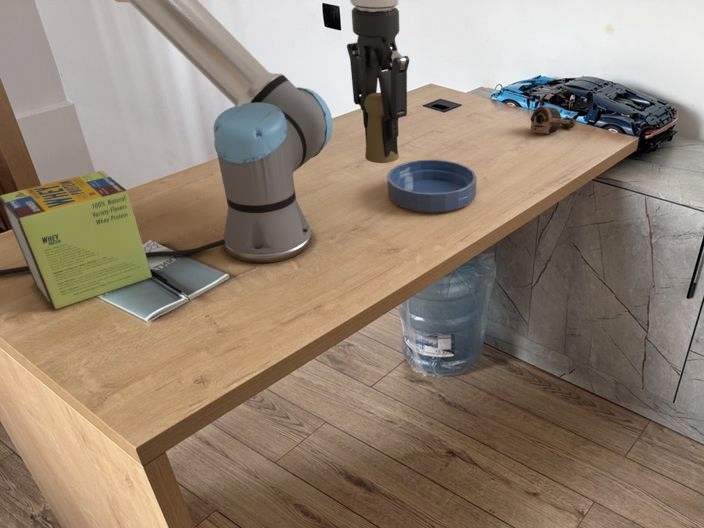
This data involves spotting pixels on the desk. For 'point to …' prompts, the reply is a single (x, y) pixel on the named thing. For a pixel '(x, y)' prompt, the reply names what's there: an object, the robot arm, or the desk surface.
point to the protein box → (77, 237)
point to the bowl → (431, 185)
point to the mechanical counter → (549, 120)
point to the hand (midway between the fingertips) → (381, 150)
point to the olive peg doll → (376, 131)
